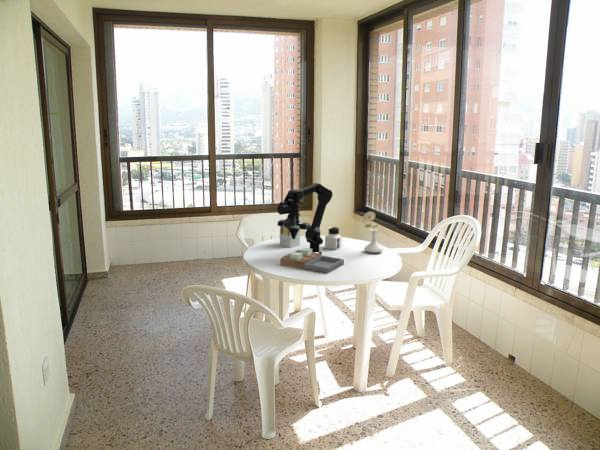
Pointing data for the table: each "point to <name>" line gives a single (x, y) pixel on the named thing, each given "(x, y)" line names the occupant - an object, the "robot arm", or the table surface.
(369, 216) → the flower in vase
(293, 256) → the tile
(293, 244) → the supplement box
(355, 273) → the table surface
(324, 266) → the box
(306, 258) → the tan bevelled block
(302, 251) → the tile
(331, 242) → the container
